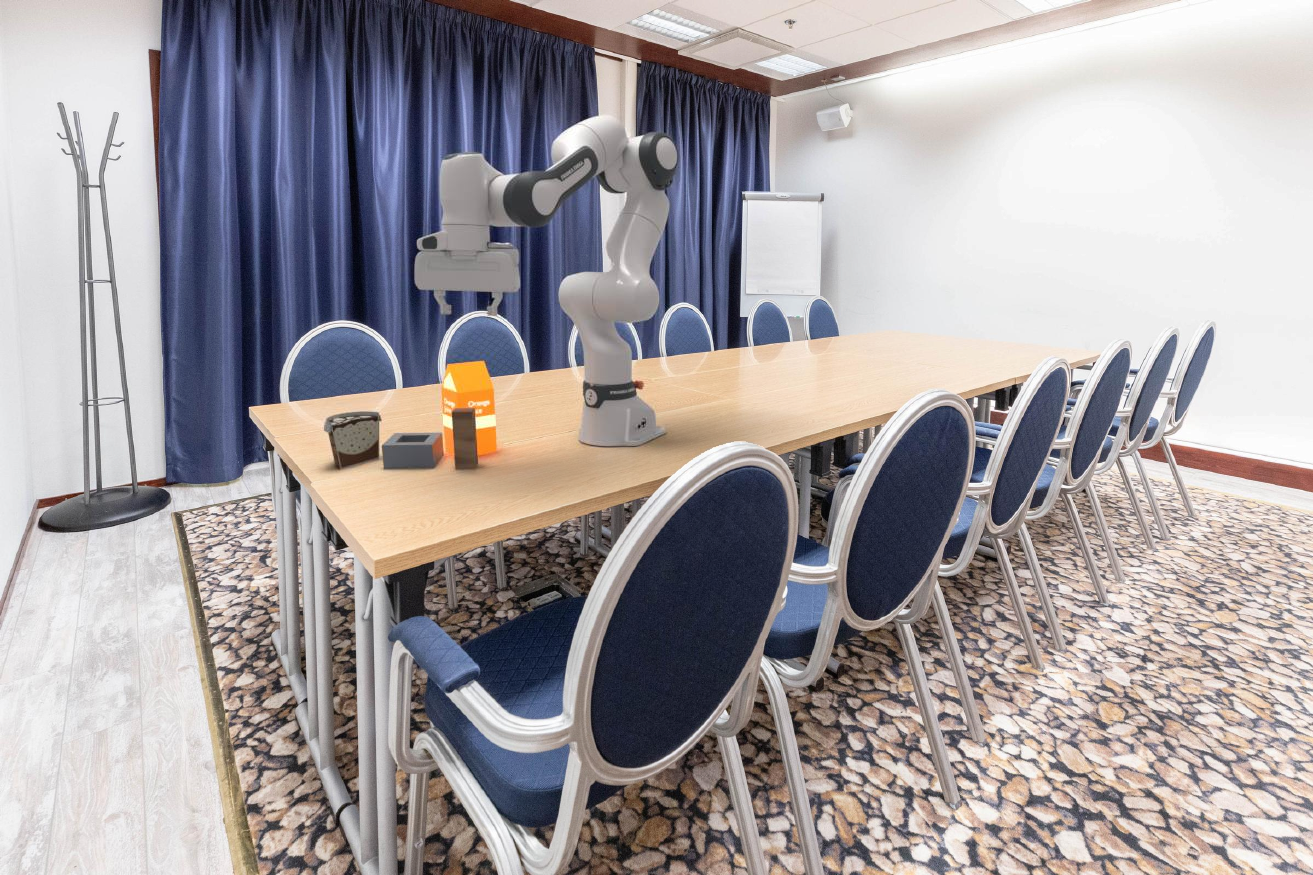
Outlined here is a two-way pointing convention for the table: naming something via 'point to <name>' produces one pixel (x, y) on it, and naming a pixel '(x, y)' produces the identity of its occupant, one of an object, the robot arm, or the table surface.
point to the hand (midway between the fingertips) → (469, 315)
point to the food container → (353, 437)
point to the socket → (412, 450)
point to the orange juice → (470, 403)
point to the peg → (464, 438)
